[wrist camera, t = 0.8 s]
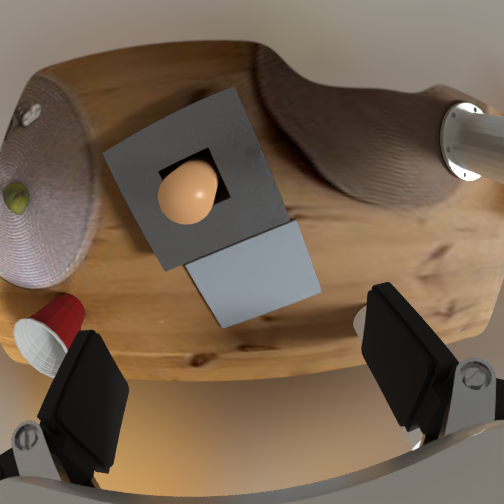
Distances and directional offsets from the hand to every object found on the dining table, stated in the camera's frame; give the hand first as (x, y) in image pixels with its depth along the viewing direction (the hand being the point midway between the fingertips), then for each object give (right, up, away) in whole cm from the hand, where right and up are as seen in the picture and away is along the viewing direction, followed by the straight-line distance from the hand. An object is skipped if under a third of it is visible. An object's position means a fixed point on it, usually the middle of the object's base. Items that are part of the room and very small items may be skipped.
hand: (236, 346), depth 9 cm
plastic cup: (-30, -6, +33) cm, 45 cm away
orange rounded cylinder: (-6, +12, +25) cm, 29 cm away
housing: (-6, +12, +25) cm, 29 cm away
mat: (+1, 0, +32) cm, 32 cm away
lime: (-34, +12, +24) cm, 44 cm away
